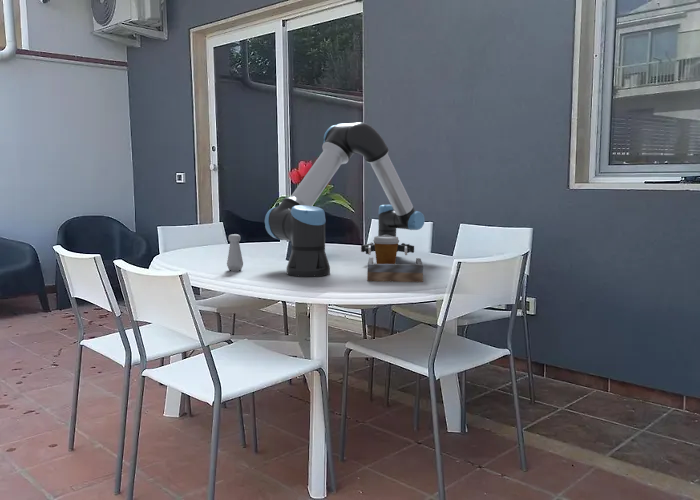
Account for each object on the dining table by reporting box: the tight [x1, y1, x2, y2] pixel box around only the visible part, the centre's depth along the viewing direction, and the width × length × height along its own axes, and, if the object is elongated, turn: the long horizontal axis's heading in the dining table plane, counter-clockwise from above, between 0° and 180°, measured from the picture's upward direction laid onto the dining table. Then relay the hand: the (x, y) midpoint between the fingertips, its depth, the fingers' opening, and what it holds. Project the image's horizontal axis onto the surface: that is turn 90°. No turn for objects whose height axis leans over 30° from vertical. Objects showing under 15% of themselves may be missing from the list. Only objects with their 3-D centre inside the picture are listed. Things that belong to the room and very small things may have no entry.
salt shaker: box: [226, 233, 244, 272], centre depth 215 cm, size 6×6×13 cm
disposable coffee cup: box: [372, 235, 400, 264], centre depth 218 cm, size 10×10×12 cm
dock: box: [366, 257, 424, 283], centre depth 203 cm, size 18×16×6 cm
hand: (387, 251), depth 222 cm, fingers open, 13 cm apart
